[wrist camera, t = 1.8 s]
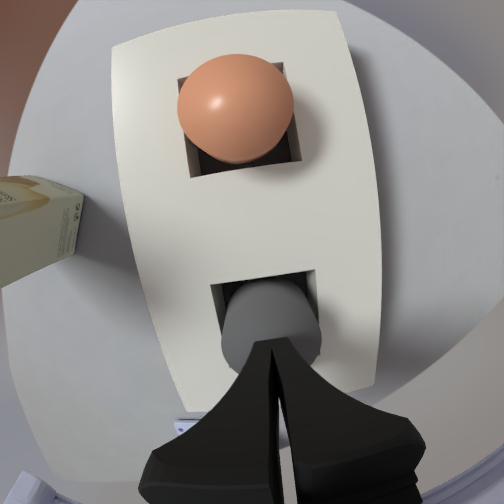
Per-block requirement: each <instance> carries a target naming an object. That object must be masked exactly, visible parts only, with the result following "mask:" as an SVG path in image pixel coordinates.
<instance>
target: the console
mask: <svg viewBox="0 0 504 504" xmlns="http://www.w3.org/2000/svg"><path fill="white" fill-rule="evenodd" d="M229 54H246V55H252V56H256V57H258V58H261V59H264V60H265V61H267V62H269V63H271V64H272V65H274V66H275V67H276V68H277V69H278V70H279V71H280V72H281V73H282V74H283V75H284V76H285V78H286V79H287V81H288V83H289V85H290V87H291V90H292V94H293V100H294V109H293V115H292V118H291V121H290V123H289V125H288V127H287V135H288V141H289V147H290V153H291V160H292V162H288V163H280V164H272V165H265V166H258V167H251V168H244V169H238V170H232V171H226V172H220V173H215V174H209V175H204V176H202V175H201V168H200V162H199V155H198V149H197V145H195V144H194V143H193V142H192V141H191V140H190V139H189V138H188V137H187V135H186V134H185V133H184V131H183V129H182V127H181V125H180V122H179V119H178V114H177V102H178V97H179V93H180V90H181V88H182V86H183V84H184V82H185V81H186V79H187V78H188V77H189V75H190V74H191V73H192V72H193V71H194V70H195V69H197V68H198V67H199V66H200V65H202V64H203V63H205V62H207V61H209V60H211V59H213V58H216V57H219V56H223V55H229ZM112 108H113V124H114V136H115V147H116V156H117V164H118V172H119V179H120V186H121V192H122V198H123V204H124V210H125V215H126V220H127V225H128V230H129V235H130V240H131V244H132V249H133V253H134V257H135V261H136V265H137V269H138V273H139V277H140V281H141V285H142V288H143V292H144V295H145V299H146V302H147V306H148V309H149V312H150V315H151V319H152V322H153V325H154V328H155V331H156V334H157V337H158V340H159V343H160V346H161V348H162V351H163V354H164V357H165V359H166V362H167V365H168V367H169V370H170V373H171V375H172V378H173V380H174V383H175V385H176V388H177V390H178V392H179V395H180V397H181V399H182V402H183V404H184V406H185V409H186V411H187V412H207V411H210V410H211V409H212V408H213V407H214V406H215V405H216V404H217V403H218V402H219V401H220V400H221V398H222V397H223V396H224V395H225V393H226V392H227V391H228V390H229V388H230V387H231V385H232V384H233V382H234V381H235V379H236V378H237V376H238V375H239V374H238V373H236V372H235V371H234V370H233V369H232V368H231V367H230V366H229V365H228V363H227V362H226V360H225V358H224V356H223V353H222V348H221V338H222V333H223V327H224V322H225V317H226V312H227V311H226V306H225V301H224V296H223V292H222V287H221V283H226V282H233V281H240V280H248V279H254V278H261V277H268V276H275V275H282V274H288V273H295V272H301V271H306V280H307V291H308V303H309V305H310V307H311V309H312V311H313V313H314V316H315V318H316V320H317V322H318V324H319V327H320V330H321V335H322V344H321V349H320V351H319V354H318V356H317V358H316V359H315V361H314V362H313V364H312V365H311V367H312V368H313V369H314V370H315V371H316V372H317V373H318V374H319V375H321V376H322V377H323V378H324V379H325V380H326V381H328V382H329V383H330V384H332V385H333V386H334V387H336V388H337V389H339V390H340V391H342V392H343V393H348V392H352V391H356V390H360V389H364V388H368V387H371V386H374V381H375V373H376V365H377V356H378V346H379V334H380V319H381V296H382V252H381V228H380V213H379V201H378V191H377V182H376V173H375V166H374V159H373V152H372V146H371V140H370V134H369V129H368V124H367V118H366V114H365V109H364V104H363V100H362V96H361V92H360V87H359V84H358V80H357V76H356V72H355V69H354V65H353V62H352V58H351V55H350V52H349V49H348V45H347V42H346V39H345V36H344V33H343V31H342V28H341V25H340V22H339V20H338V17H337V14H336V12H335V11H325V10H272V11H258V12H247V13H239V14H231V15H225V16H218V17H213V18H207V19H202V20H198V21H193V22H189V23H185V24H180V25H177V26H173V27H169V28H166V29H162V30H159V31H156V32H152V33H149V34H146V35H143V36H140V37H138V38H135V39H132V40H129V41H127V42H124V43H122V44H119V45H117V46H114V47H112ZM279 406H280V400H279Z"/></svg>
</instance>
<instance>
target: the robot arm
mask: <svg viewBox="0 0 504 504" xmlns="http://www.w3.org/2000/svg"><path fill="white" fill-rule="evenodd" d="M279 400H280V405H281V409H282V413H283V417H284V421H285V425H286V429H287V433H288V438H289V442H290V447H291V455H292V463H293V470H294V479H295V487H296V494H297V504H504V444H503V445H501V446H500V447H499V448H497V449H496V450H495V451H494V452H492V453H491V454H489V455H488V456H486V457H485V458H484V459H482V460H481V461H479V462H478V463H477V464H475V465H473V466H472V467H470V468H469V469H467V470H465V471H464V472H462V473H461V474H459V475H457V476H455V477H454V478H452V479H450V480H448V481H447V482H445V483H443V484H441V485H439V486H437V487H435V488H433V489H431V490H429V491H427V492H425V493H423V494H421V495H420V493H419V491H418V489H417V486H416V484H415V483H417V481H418V478H417V476H416V474H415V472H414V470H415V468H416V467H417V465H418V463H419V462H420V460H421V458H422V457H423V454H424V452H425V449H426V445H425V442H424V440H423V438H422V437H421V435H420V433H419V432H418V431H417V430H416V428H415V427H414V425H413V424H412V423H411V422H410V421H409V419H408V418H405V417H401V416H398V415H394V414H390V413H387V412H384V411H381V410H378V409H376V408H373V407H371V406H368V405H366V404H364V403H362V402H360V401H358V400H356V399H354V398H352V397H350V396H348V395H347V394H345V393H343V392H342V391H340V390H339V389H337V388H336V387H334V386H333V385H332V384H330V383H329V382H328V381H326V380H325V379H324V378H323V377H322V376H321V375H319V374H318V373H317V372H316V371H315V370H314V369H313V368H312V367H311V366H310V365H309V364H308V363H307V362H306V361H305V360H304V359H303V357H302V356H301V355H300V354H299V353H298V351H297V350H296V349H295V347H294V346H293V344H292V343H291V341H290V339H289V338H287V337H282V338H275V339H268V340H260V341H255V342H254V343H253V346H252V349H251V351H250V354H249V356H248V358H247V360H246V362H245V364H244V366H243V368H242V369H241V371H240V373H239V375H238V376H237V378H236V379H235V381H234V382H233V384H232V385H231V387H230V388H229V390H228V391H227V392H226V393H225V395H224V396H223V397H222V398H221V400H220V401H219V402H218V403H217V404H216V405H215V406H214V407H213V408H212V409H211V410H210V411H209V412H208V413H207V414H206V415H205V416H204V417H203V418H202V419H201V420H176V421H175V422H174V427H175V429H176V431H177V432H178V434H179V436H178V437H177V438H175V439H173V440H171V441H170V442H168V443H166V444H164V445H163V446H161V447H159V448H157V449H155V450H153V451H152V453H151V455H150V457H149V459H148V461H147V463H146V465H145V468H144V471H143V474H142V477H141V480H140V483H139V486H138V490H139V493H140V494H141V496H142V497H143V498H144V499H145V500H146V501H147V502H148V503H149V504H284V495H283V485H282V475H281V466H280V455H279ZM4 504H81V503H79V502H77V501H74V500H72V499H69V498H67V497H65V496H63V495H60V494H59V493H57V492H56V491H55V490H54V489H53V488H52V487H51V486H50V485H48V484H47V483H46V482H44V481H43V480H41V479H40V478H38V477H36V476H34V475H32V474H30V473H29V472H27V471H25V470H23V471H22V473H21V474H20V476H19V478H18V479H17V481H16V483H15V484H14V486H13V488H12V489H11V491H10V493H9V495H8V496H7V498H6V500H5V502H4Z"/></svg>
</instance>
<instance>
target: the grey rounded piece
mask: <svg viewBox="0 0 504 504" xmlns="http://www.w3.org/2000/svg"><path fill="white" fill-rule="evenodd" d="M282 337H287V338H289V339H290V341H291V343H292V344H293V346H294V347H295V349H296V350H297V351H298V353H299V354H300V355H301V356H302V357H303V359H304V360H305V361H306V362H307V363H308V364H309V365H310V366H311V365H312V364H313V362H314V361H315V359H316V358H317V356H318V354H319V351H320V349H321V344H322V335H321V330H320V327H319V324H318V322H317V320H316V318H315V316H314V313H313V311H312V309H311V307H310V305H309V303H308V300H307V298H306V296H305V294H304V293H303V291H302V290H301V289H300V288H299V287H298V286H297V285H296V284H294V283H293V282H291V281H289V280H287V279H284V278H281V277H276V276H268V277H261V278H255V279H252V280H250V281H248V282H246V283H244V284H243V285H241V286H240V287H239V288H238V289H237V290H236V291H235V292H234V294H233V295H232V297H231V299H230V301H229V304H228V307H227V312H226V317H225V322H224V327H223V333H222V338H221V348H222V353H223V356H224V358H225V360H226V362H227V363H228V365H229V366H230V367H231V368H232V369H233V370H234V371H235V372H236V373H238V374H239V373H240V371H241V369H242V368H243V366H244V364H245V362H246V360H247V358H248V356H249V354H250V351H251V349H252V346H253V343H254V342H255V341H260V340H268V339H275V338H282Z"/></svg>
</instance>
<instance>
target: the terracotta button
mask: <svg viewBox="0 0 504 504" xmlns="http://www.w3.org/2000/svg"><path fill="white" fill-rule="evenodd" d="M293 109H294V100H293V94H292V90H291V87H290V85H289V83H288V81H287V79H286V78H285V76H284V75H283V74H282V73H281V72H280V71H279V70H278V69H277V68H276V67H275V66H274V65H272V64H271V63H269V62H267V61H265V60H264V59H261V58H258V57H256V56H252V55H246V54H229V55H223V56H219V57H216V58H213V59H211V60H209V61H207V62H205V63H203V64H202V65H200V66H199V67H198V68H197V69H195V70H194V71H193V72H192V73H191V74H190V75H189V77H188V78H187V79H186V81H185V82H184V84H183V86H182V88H181V90H180V93H179V97H178V102H177V114H178V119H179V122H180V125H181V127H182V129H183V131H184V133H185V134H186V135H187V137H188V138H189V139H190V140H191V141H192V142H193V143H194V144H195V145H197V146H198V147H199V148H201V149H202V150H203V151H205V152H206V153H207V154H209V155H210V156H212V157H213V158H215V159H217V160H219V161H222V162H225V163H230V164H246V163H250V162H254V161H256V160H259V159H261V158H263V157H264V156H266V155H267V154H268V153H270V152H271V151H272V150H273V149H274V148H275V147H276V145H277V144H278V142H279V141H280V139H281V137H282V136H283V134H284V132H285V131H286V129H287V127H288V125H289V123H290V121H291V118H292V115H293Z"/></svg>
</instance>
